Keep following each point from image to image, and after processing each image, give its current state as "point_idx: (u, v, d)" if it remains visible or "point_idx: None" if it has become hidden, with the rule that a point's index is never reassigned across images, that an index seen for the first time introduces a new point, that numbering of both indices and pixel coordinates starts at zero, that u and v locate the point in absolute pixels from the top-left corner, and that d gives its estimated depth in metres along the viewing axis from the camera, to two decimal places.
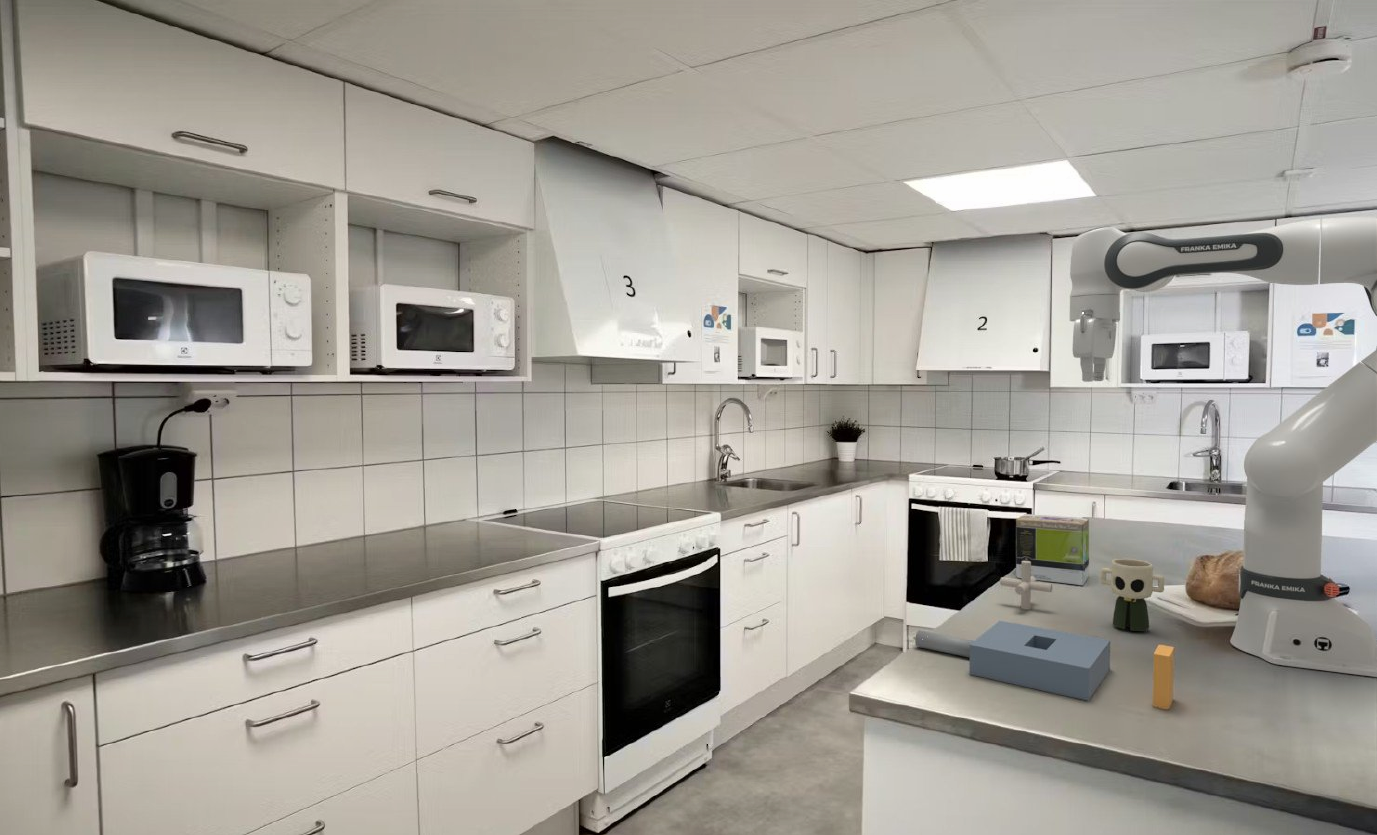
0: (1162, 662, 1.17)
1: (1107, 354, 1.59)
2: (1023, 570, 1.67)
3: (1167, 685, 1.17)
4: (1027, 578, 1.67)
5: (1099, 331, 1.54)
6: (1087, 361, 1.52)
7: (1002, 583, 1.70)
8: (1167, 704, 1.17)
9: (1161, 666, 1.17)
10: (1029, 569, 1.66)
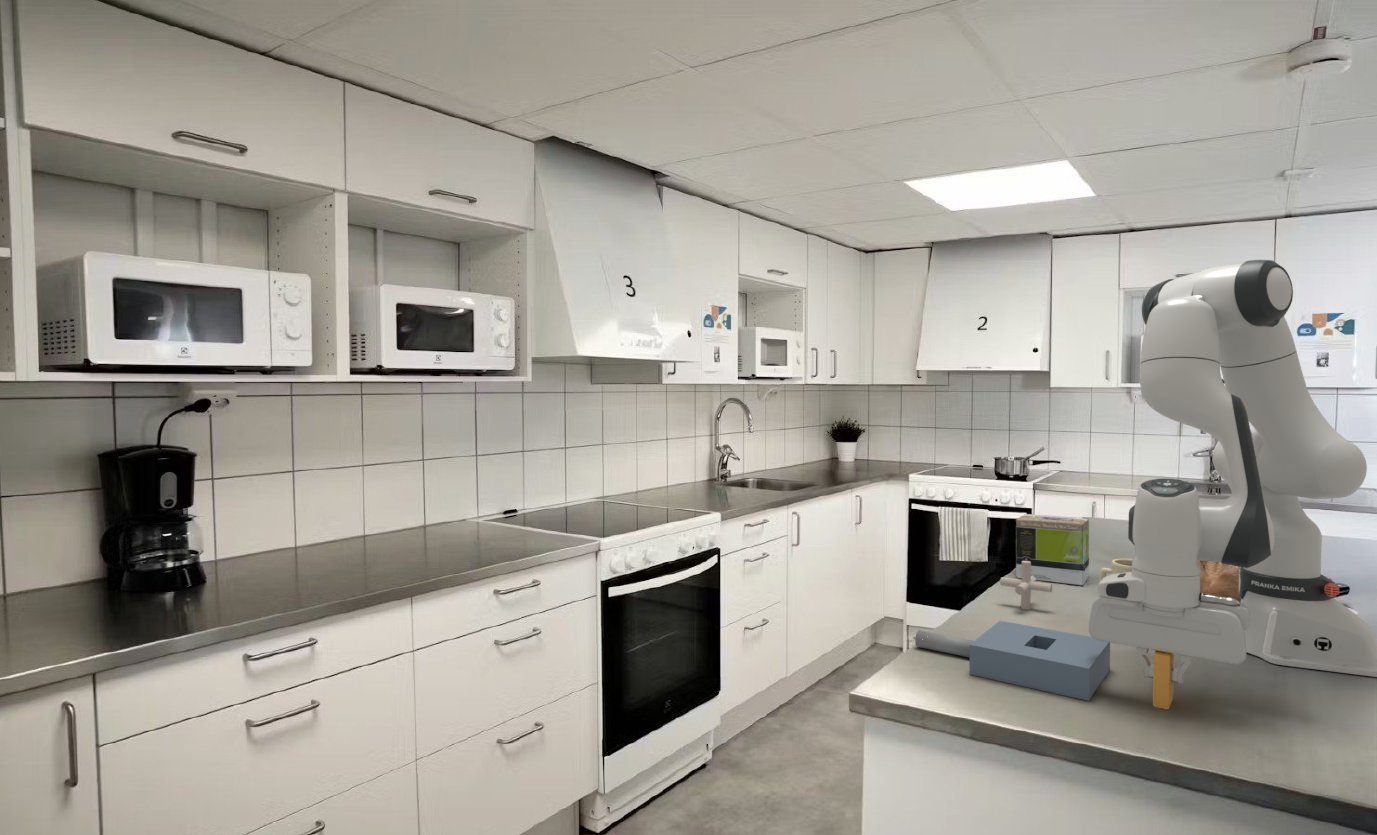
0: (1162, 661, 1.17)
1: None
2: (1023, 570, 1.67)
3: (1167, 685, 1.17)
4: (1027, 578, 1.67)
5: None
6: (1191, 658, 1.17)
7: (1002, 583, 1.70)
8: (1167, 704, 1.17)
9: (1161, 666, 1.17)
10: (1029, 569, 1.66)
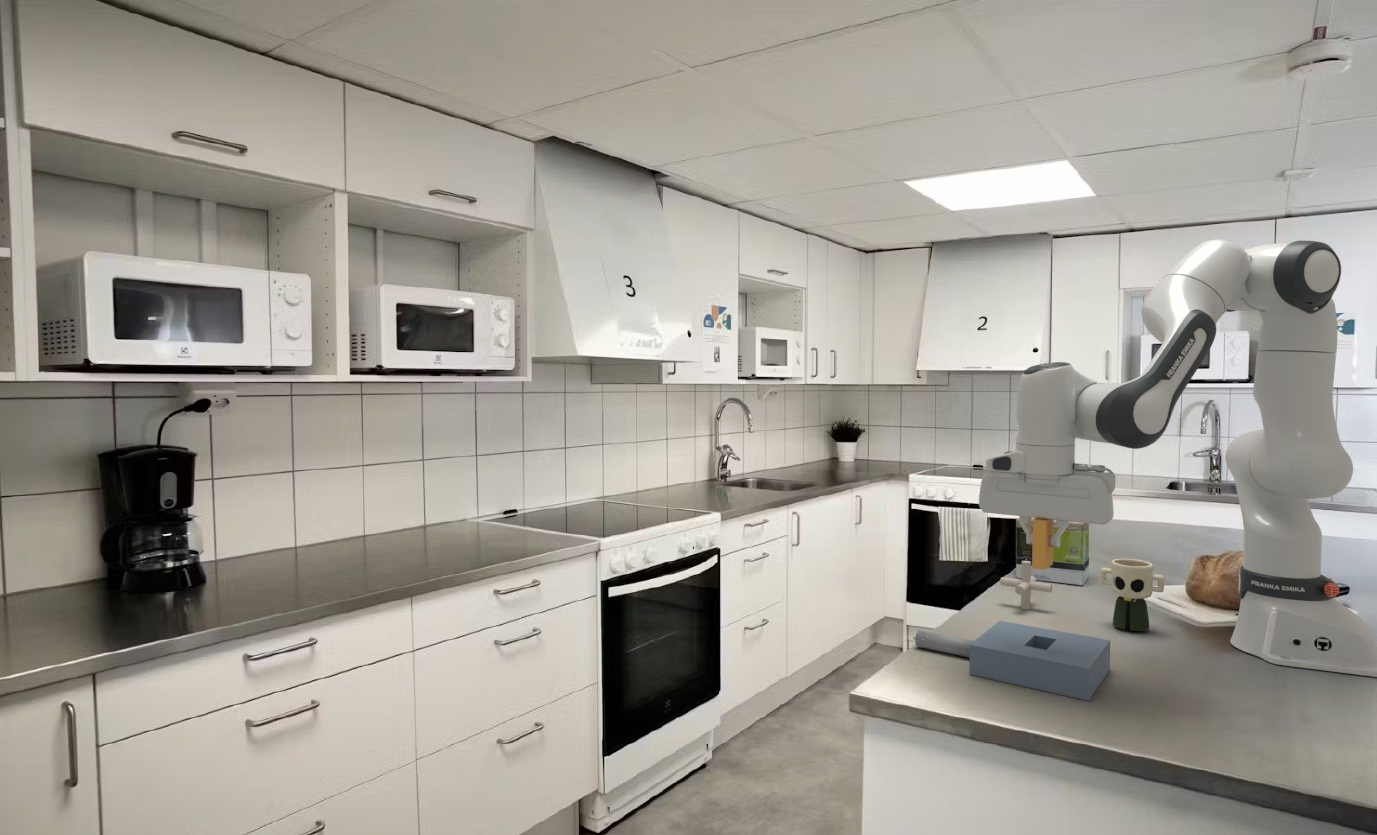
0: (1040, 526, 1.28)
1: None
2: (1023, 570, 1.67)
3: (1044, 547, 1.28)
4: (1027, 578, 1.67)
5: None
6: (1067, 523, 1.28)
7: (1002, 583, 1.70)
8: (1044, 565, 1.28)
9: (1039, 530, 1.28)
10: (1029, 569, 1.66)
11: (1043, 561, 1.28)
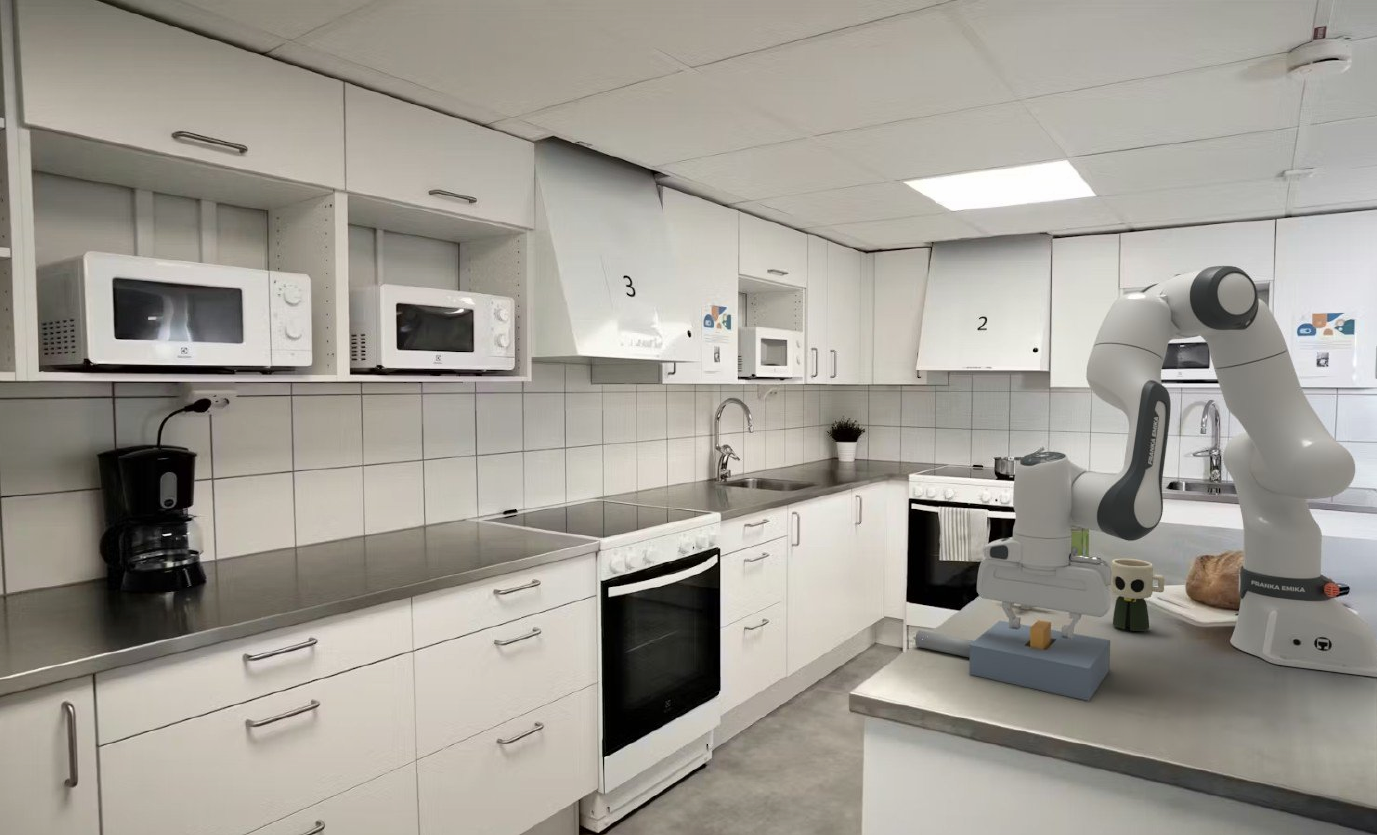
0: (1037, 635, 1.30)
1: None
2: None
3: None
4: None
5: None
6: (1080, 615, 1.28)
7: None
8: None
9: (1036, 639, 1.30)
10: None
11: None
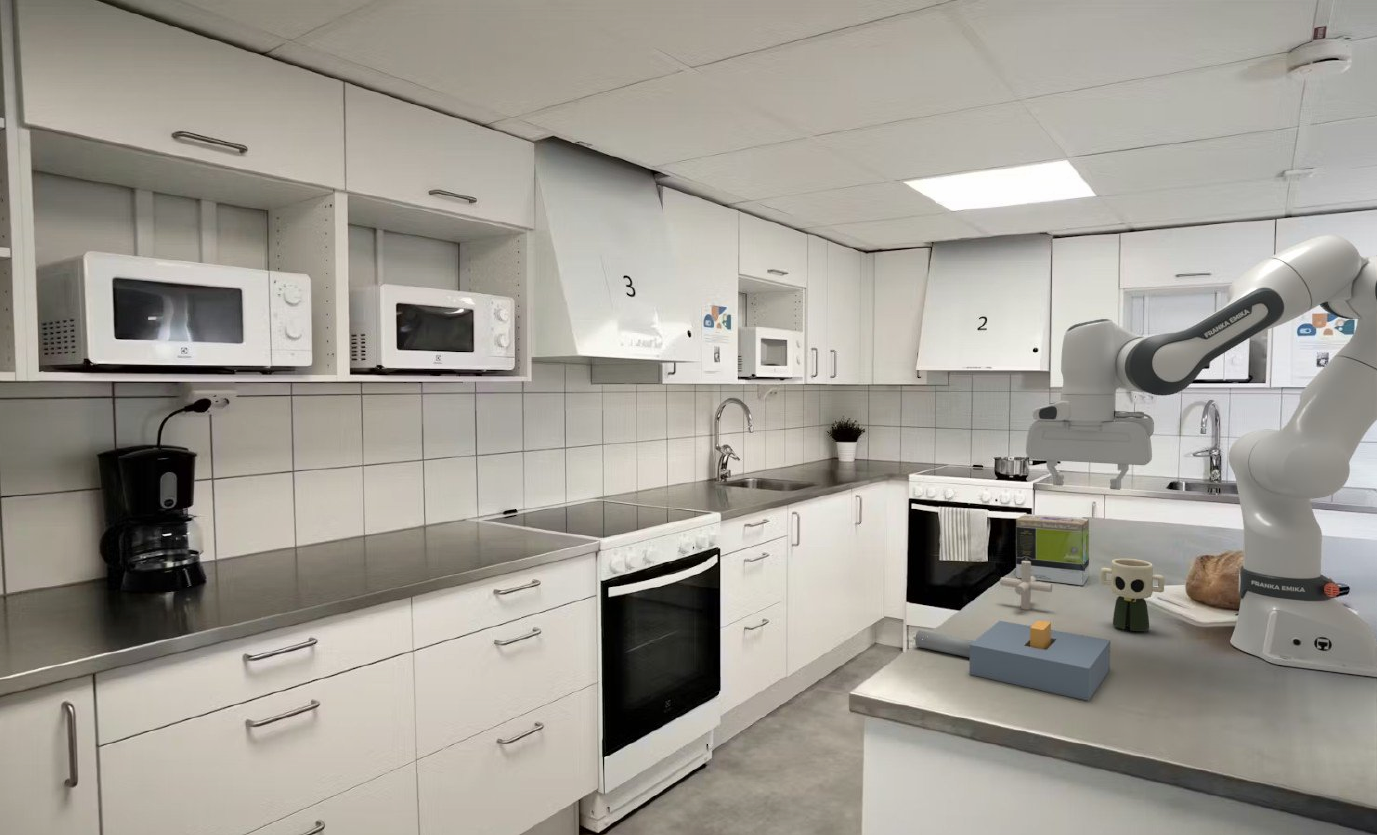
0: (1037, 635, 1.30)
1: None
2: (1023, 570, 1.67)
3: None
4: (1027, 578, 1.67)
5: None
6: (1127, 467, 1.39)
7: (1002, 583, 1.70)
8: None
9: (1036, 639, 1.30)
10: (1029, 569, 1.66)
11: None
